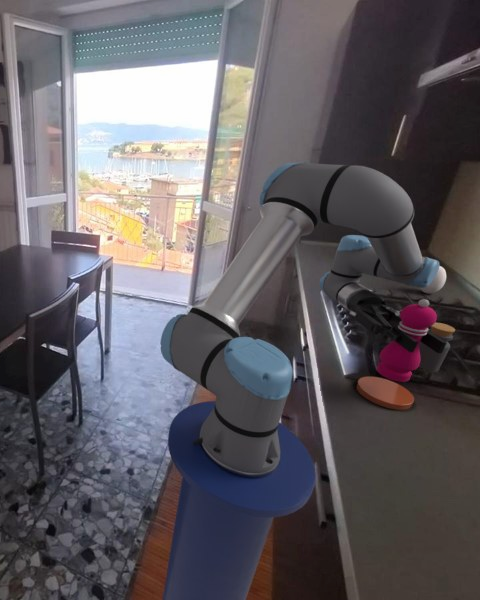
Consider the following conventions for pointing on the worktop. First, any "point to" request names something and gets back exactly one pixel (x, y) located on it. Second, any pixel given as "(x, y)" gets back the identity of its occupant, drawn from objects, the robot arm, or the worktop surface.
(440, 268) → the egg
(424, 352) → the bottle
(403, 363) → the pepper mill
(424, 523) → the worktop surface
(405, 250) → the robot arm
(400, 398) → the trivet
